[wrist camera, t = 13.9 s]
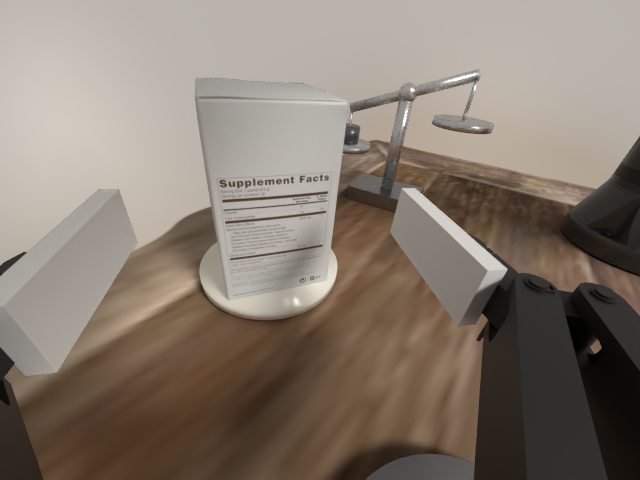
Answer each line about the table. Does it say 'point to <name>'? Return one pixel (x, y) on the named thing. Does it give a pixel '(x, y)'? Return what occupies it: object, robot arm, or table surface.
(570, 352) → the robot arm
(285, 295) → the cream dish
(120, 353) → the table surface
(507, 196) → the table surface
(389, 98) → the balance
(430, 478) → the charcoal dish
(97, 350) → the table surface
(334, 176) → the supplement box
